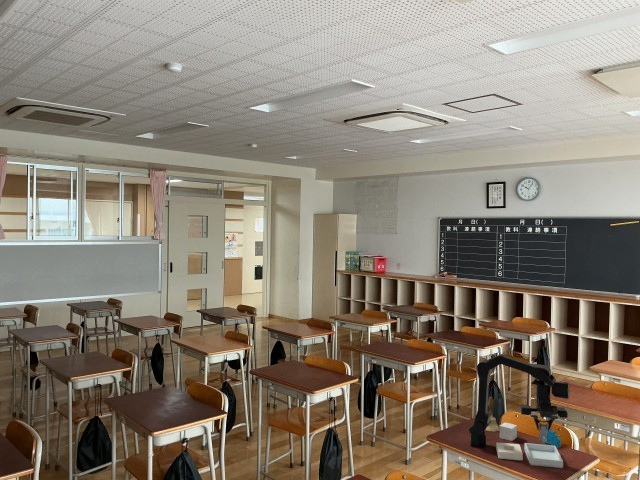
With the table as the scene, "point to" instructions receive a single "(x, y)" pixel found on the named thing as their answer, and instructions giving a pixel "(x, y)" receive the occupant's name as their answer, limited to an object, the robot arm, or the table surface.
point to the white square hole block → (509, 451)
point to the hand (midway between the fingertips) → (543, 430)
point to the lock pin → (543, 429)
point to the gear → (553, 438)
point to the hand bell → (492, 418)
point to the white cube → (508, 431)
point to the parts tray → (543, 455)
